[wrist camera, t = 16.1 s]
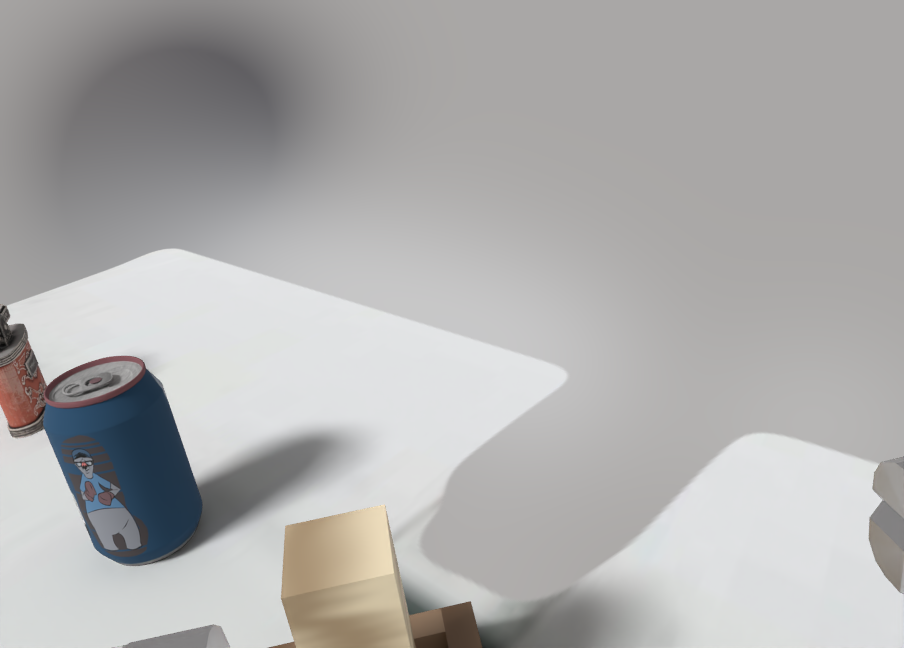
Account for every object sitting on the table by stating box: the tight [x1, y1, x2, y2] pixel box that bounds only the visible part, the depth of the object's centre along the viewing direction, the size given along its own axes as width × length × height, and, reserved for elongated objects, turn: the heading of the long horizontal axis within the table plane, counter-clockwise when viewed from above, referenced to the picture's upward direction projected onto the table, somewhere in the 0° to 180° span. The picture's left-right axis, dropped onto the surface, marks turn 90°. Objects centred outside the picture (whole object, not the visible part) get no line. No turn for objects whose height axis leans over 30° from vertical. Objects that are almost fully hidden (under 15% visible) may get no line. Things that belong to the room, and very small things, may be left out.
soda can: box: [43, 356, 202, 566], centre depth 48 cm, size 7×7×12 cm
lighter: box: [0, 304, 47, 438], centre depth 67 cm, size 8×3×10 cm, turn 19°
